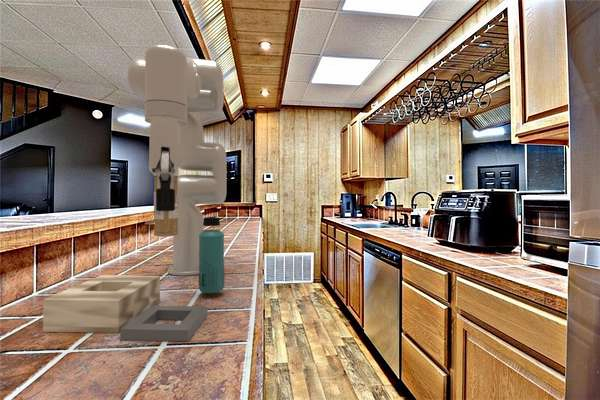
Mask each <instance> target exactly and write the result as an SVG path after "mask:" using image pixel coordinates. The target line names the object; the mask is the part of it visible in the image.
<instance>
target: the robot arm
mask: <svg viewBox="0 0 600 400" xmlns="http://www.w3.org/2000/svg"><path fill="white" fill-rule="evenodd" d="M144 55H145V56H144V58H135V59H133V60H132V61H131V62H130V64H129V66H128V69H127V83H128V85H129V88H130V90H131V91H132V93H133V94H135V95H136V96H137V97H140V98H144V122H145V123H148V124H150V127H149V146H148V147H149V154H148V155H149V157H148V159H149V160H148V171H149V172H150V173H151V174H153V173H154V172H153V169H157V168H156V167H157V166H158V173H157V174H158V177H157V189H156V210H157V211H174V209H175V190H173V176H174V173H176V172H177V170H178V168H179V170H182V171H188V172H210V173H212V174H210V175H209V174H179V176H178V234H177V235H175V236H172V239H173V240H172V242H173V244H172V245H173V247H172V266H169V267H168V268H167V273H168V274H169V275H173V276H180V277H181V276H183V277H184V276H195V275H199V253H198V252H199V251H198V250H199V234H200V233H201V232H202V231H204V230H205V226H203V222H204V218H205V217H204V215H203V213H202V212H201V210H200V209H199V208H198V207H197V206H196V205H220V204H223V203H224V202H225V201H226V197H227V151H226V149H225V147H224V145H223V144H221V143H217V142H205V141H204V126H203V124H202V123H201V122H200V120H199V119H198V118H197V117H196V116H195V115H194V114H193V113H199V114H200V113H202V114H203V113H204V114H213V115H214V114H218V113H220V112H222V110H223V107H224V99H225V98H224V96H225V95H224V94H225V93H224V91H225V90H224V86H225V85H224V75H223V71H222V68H221V66H220V64H219V63H218V62H217V61H215V60H211V59H202V58H194V57H187V55H186V54H185V53H184V52H183V51H182V50H180V48H177V47H173V46H171V45H164V44H155V45H151V46H148V48H146V50H145V54H144ZM160 169H161V172H160ZM169 169H171V172H169ZM173 170H174V173H173Z"/></svg>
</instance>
